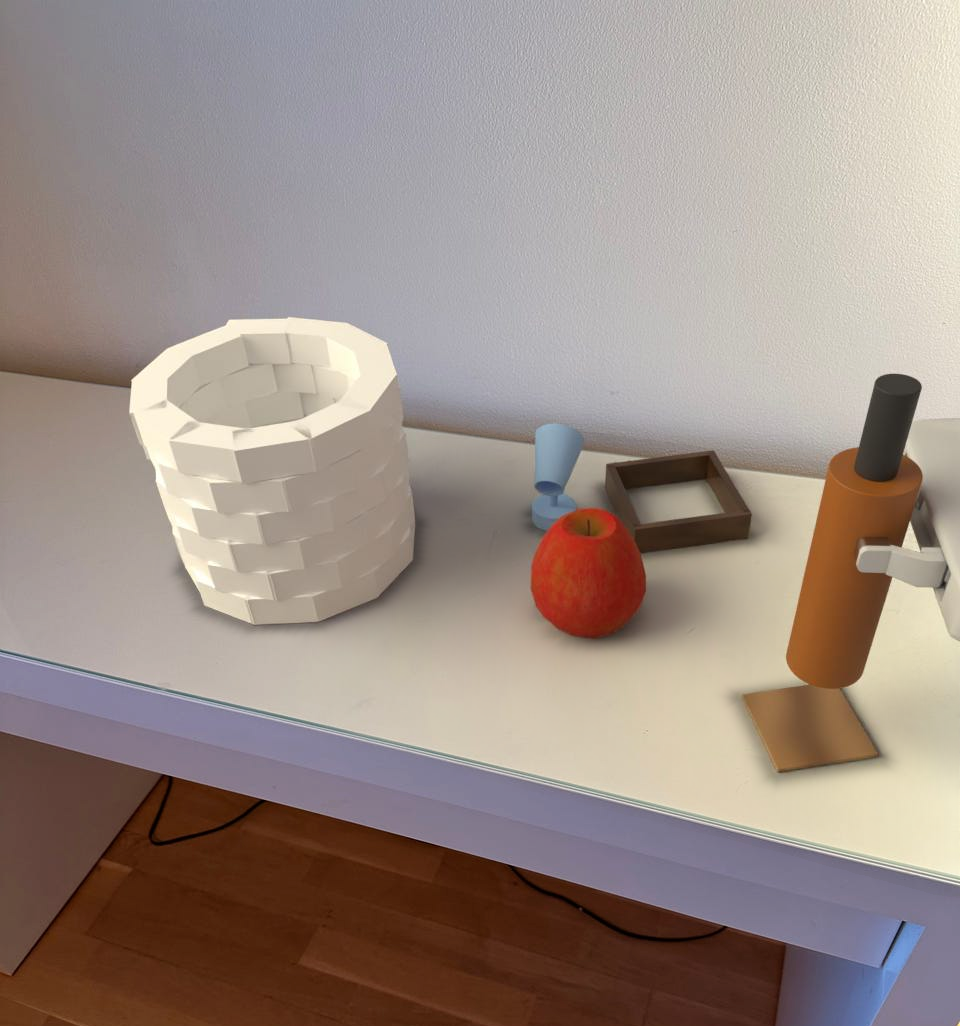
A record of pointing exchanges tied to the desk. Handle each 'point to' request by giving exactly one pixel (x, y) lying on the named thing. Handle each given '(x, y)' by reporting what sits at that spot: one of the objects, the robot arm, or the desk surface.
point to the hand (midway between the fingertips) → (848, 521)
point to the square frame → (686, 529)
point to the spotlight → (554, 472)
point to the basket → (280, 465)
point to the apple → (588, 574)
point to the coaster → (808, 727)
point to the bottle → (855, 541)
